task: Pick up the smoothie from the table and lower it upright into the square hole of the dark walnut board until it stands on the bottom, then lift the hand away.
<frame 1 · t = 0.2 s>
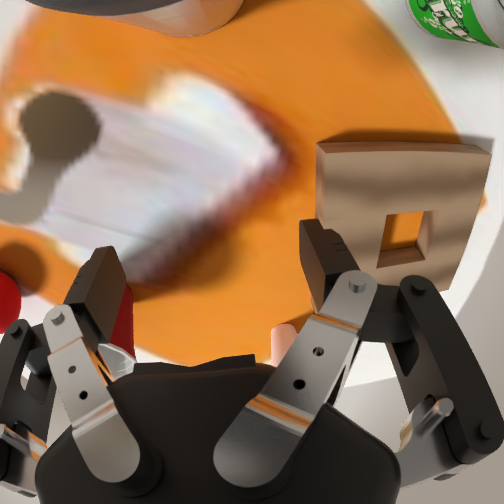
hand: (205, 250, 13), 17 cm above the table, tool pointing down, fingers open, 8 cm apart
smoothie: (282, 330, 45), on the table
plastic cup: (114, 291, 37), on the table
socket board: (397, 225, 35), on the table
soda can: (427, 5, 18), on the table
fruit: (5, 281, 34), on the table
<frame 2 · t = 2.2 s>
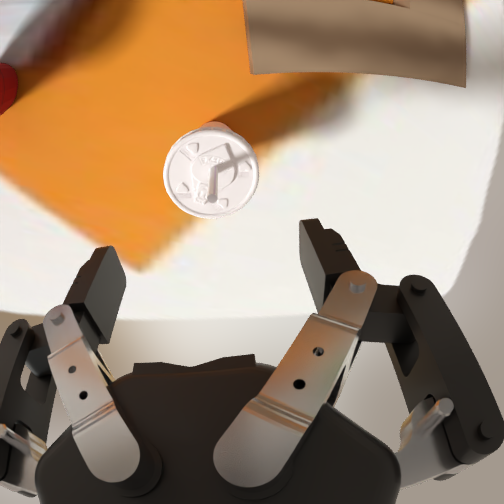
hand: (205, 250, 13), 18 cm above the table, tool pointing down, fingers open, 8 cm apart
smoothie: (214, 139, 27), on the table
plastic cup: (2, 88, 20), on the table
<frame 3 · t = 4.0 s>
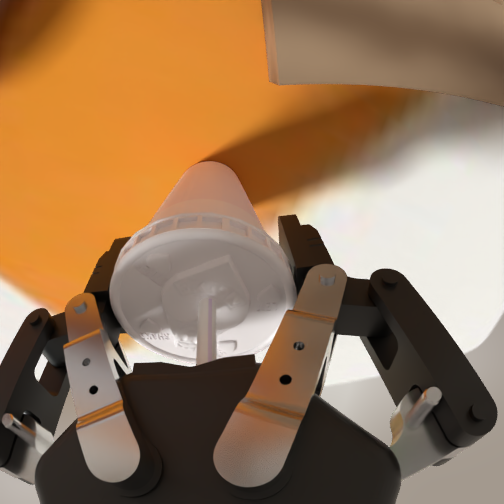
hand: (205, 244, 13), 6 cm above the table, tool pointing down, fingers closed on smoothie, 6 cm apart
smoothie: (209, 189, 18), on the table, touching gripper
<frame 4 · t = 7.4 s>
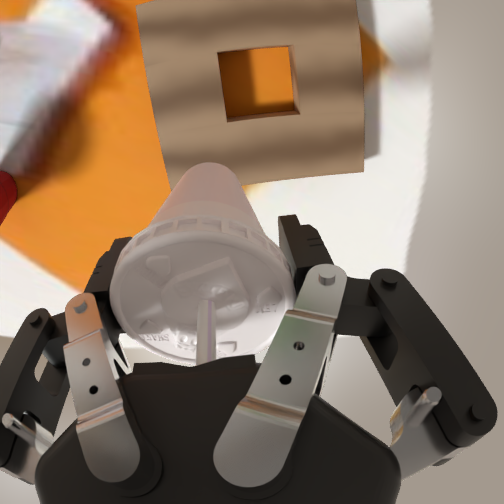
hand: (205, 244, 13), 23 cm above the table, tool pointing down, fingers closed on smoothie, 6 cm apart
smoothie: (209, 190, 18), point 17 cm above the table, touching gripper
plastic cup: (5, 188, 32), on the table
socket board: (257, 81, 29), on the table
when the fingers open (7 cm above the table, at t = 10.9 s): smoothie stays where it is, resting in socket board.
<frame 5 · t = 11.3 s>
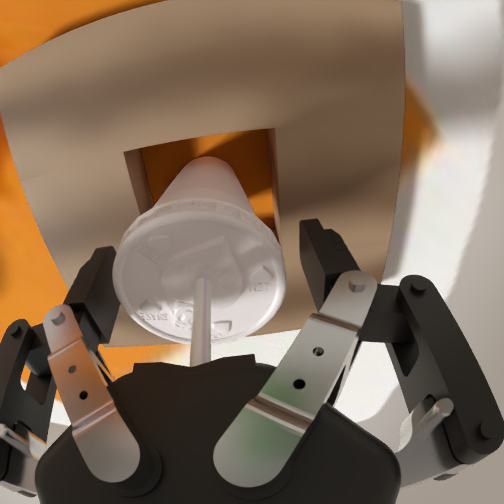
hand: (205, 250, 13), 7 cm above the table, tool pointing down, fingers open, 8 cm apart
smoothie: (207, 183, 19), resting in socket board
socket board: (209, 184, 18), on the table
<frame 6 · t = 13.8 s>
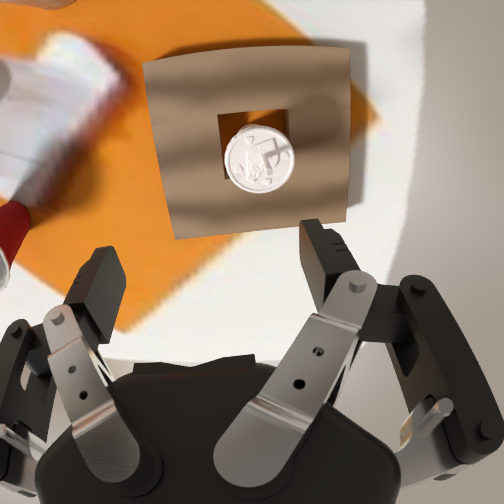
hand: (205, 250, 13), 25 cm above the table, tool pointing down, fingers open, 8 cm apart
smoothie: (251, 138, 35), resting in socket board
plastic cup: (19, 217, 36), on the table
socket board: (253, 138, 34), on the table
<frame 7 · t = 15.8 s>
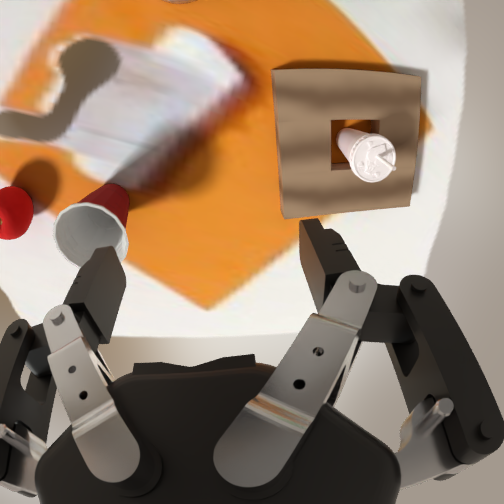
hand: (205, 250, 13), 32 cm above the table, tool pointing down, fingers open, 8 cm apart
smoothie: (346, 138, 42), resting in socket board
plastic cup: (114, 199, 44), on the table
socket board: (348, 139, 42), on the table
fruit: (21, 200, 42), on the table
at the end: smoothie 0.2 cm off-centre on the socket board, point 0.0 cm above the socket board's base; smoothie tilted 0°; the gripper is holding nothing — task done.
